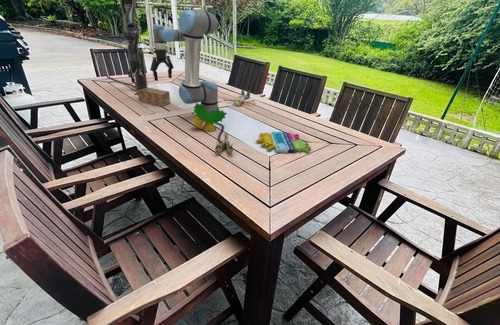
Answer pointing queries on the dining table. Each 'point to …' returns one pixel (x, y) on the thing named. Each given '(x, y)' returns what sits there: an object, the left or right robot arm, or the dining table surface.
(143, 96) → the wooden recessed-top box
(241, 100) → the toy
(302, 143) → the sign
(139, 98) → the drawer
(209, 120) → the ornament
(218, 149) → the jawbone
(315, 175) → the dining table surface
